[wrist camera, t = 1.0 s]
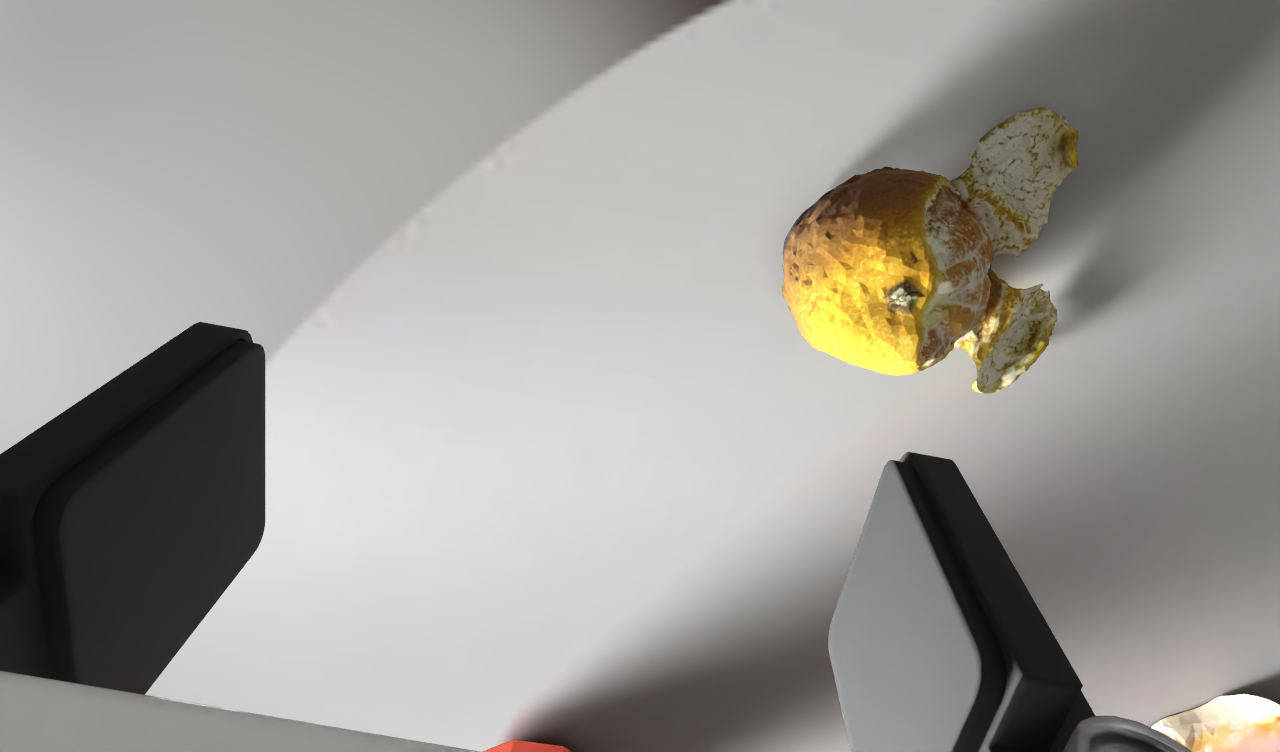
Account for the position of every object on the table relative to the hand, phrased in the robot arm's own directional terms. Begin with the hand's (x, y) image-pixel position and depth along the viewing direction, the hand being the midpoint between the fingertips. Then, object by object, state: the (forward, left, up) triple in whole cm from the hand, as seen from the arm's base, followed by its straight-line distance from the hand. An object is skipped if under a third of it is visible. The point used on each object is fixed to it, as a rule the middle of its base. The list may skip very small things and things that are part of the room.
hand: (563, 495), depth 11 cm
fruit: (+3, +9, -16) cm, 19 cm away
